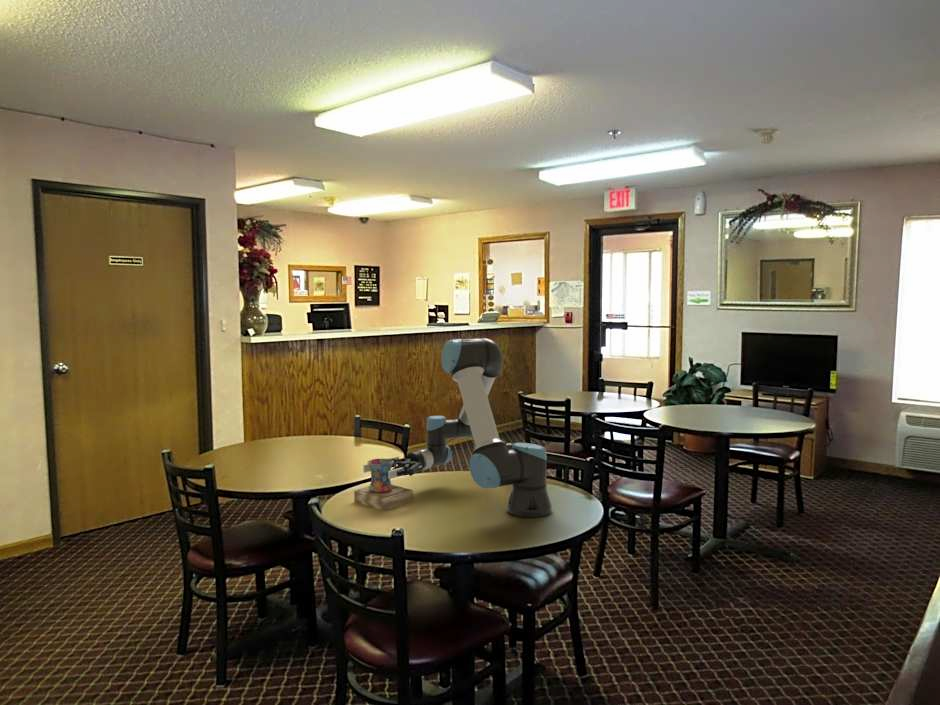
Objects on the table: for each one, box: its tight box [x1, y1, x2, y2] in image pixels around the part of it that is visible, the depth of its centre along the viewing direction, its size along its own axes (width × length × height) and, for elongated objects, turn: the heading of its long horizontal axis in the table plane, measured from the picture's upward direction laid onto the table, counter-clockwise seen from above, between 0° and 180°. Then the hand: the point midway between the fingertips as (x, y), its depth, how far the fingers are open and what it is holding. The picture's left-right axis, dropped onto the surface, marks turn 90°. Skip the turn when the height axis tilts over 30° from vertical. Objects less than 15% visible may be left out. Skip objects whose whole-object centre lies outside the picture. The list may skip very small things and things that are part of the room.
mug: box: [366, 457, 397, 492], centre depth 233 cm, size 12×9×11 cm
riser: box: [353, 484, 414, 511], centre depth 234 cm, size 16×14×4 cm
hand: (376, 471), depth 231 cm, fingers open, 13 cm apart
